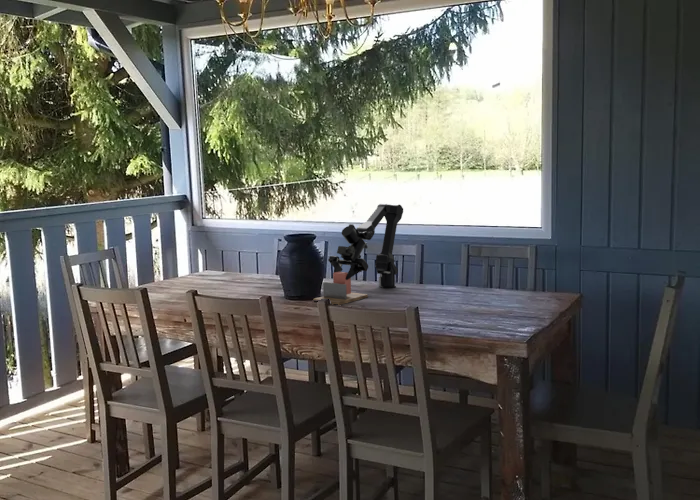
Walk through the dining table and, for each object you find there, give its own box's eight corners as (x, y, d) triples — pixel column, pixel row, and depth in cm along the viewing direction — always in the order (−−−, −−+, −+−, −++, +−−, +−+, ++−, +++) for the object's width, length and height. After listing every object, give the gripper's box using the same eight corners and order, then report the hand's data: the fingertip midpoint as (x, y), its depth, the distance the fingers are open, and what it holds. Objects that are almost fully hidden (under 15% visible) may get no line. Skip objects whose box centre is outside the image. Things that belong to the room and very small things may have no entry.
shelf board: (342, 293, 315) (342, 291, 315) (367, 297, 307) (367, 294, 307) (313, 301, 300) (313, 298, 300) (338, 305, 291) (338, 302, 291)
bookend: (325, 296, 304) (324, 281, 303) (346, 299, 297) (346, 284, 296) (323, 296, 303) (323, 282, 302) (345, 299, 296) (344, 284, 295)
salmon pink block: (339, 291, 307) (338, 271, 306) (351, 293, 303) (350, 272, 302) (333, 293, 304) (333, 272, 303) (345, 294, 300) (344, 274, 299)
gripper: (330, 237, 310) (314, 265, 302) (363, 240, 298) (348, 269, 291) (341, 253, 317) (326, 281, 310) (375, 256, 305) (360, 284, 298)
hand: (340, 278), depth 302 cm, fingers closed on salmon pink block, 6 cm apart
